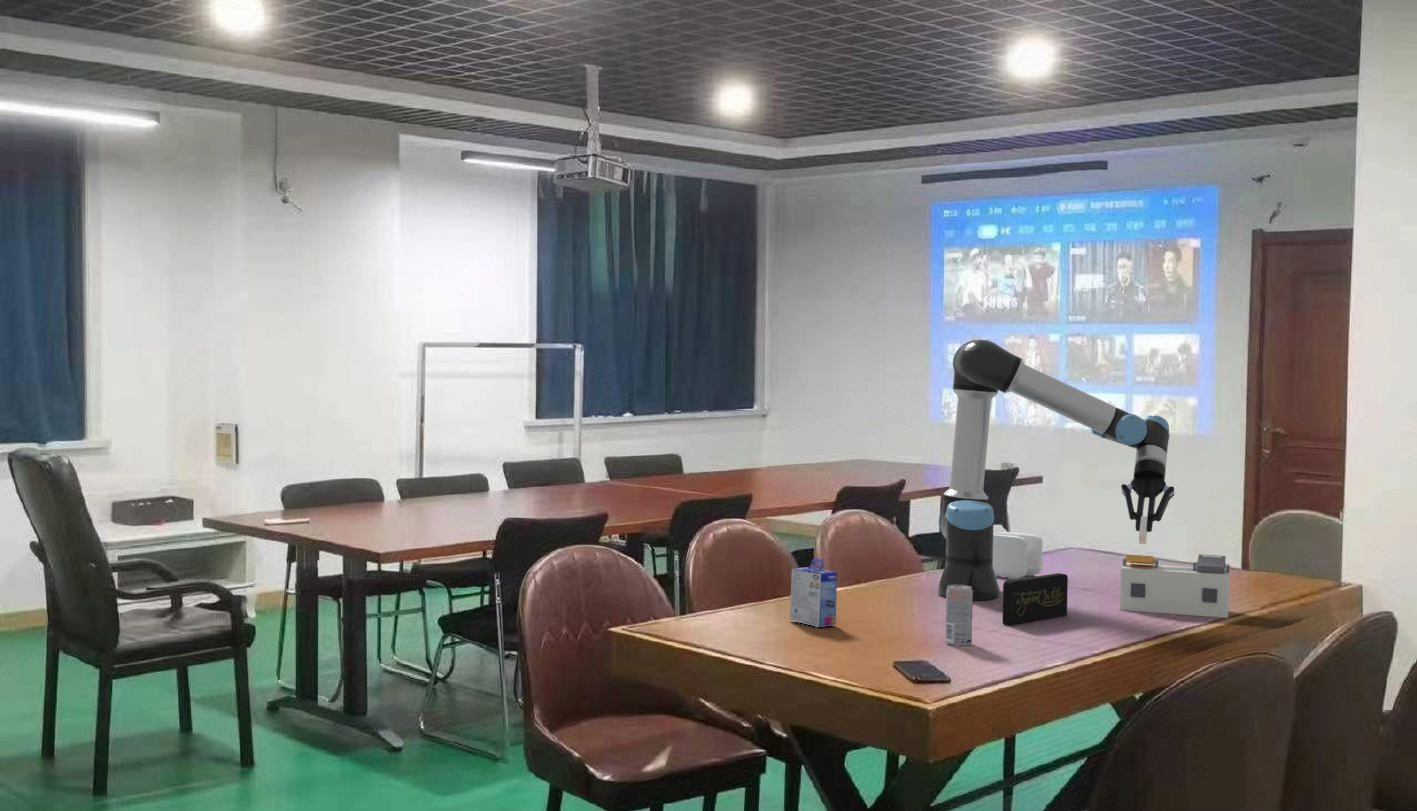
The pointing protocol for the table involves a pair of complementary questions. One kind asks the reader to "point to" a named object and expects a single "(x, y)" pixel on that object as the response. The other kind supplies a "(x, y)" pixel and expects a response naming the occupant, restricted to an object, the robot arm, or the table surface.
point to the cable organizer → (1017, 554)
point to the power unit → (1174, 590)
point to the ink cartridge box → (813, 595)
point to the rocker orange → (1140, 559)
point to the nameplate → (1034, 599)
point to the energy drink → (959, 615)
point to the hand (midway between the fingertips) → (1142, 540)
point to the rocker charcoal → (1211, 564)
